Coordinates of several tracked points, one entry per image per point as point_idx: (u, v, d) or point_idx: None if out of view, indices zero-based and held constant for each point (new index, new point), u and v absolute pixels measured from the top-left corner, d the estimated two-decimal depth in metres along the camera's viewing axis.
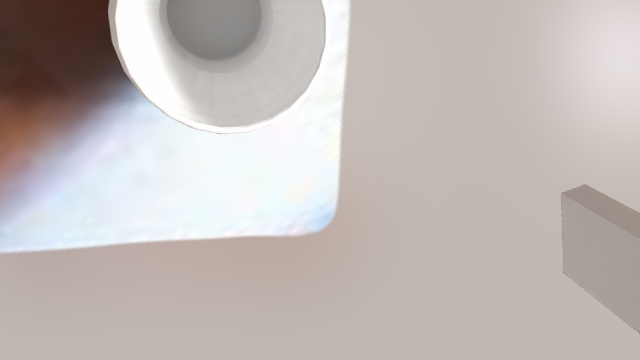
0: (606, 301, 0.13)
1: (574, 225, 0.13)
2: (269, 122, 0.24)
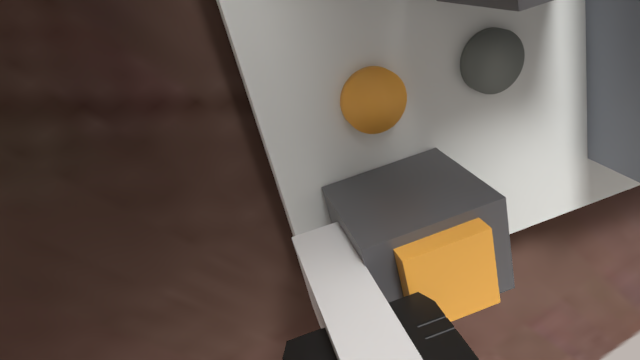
0: None
1: None
2: None
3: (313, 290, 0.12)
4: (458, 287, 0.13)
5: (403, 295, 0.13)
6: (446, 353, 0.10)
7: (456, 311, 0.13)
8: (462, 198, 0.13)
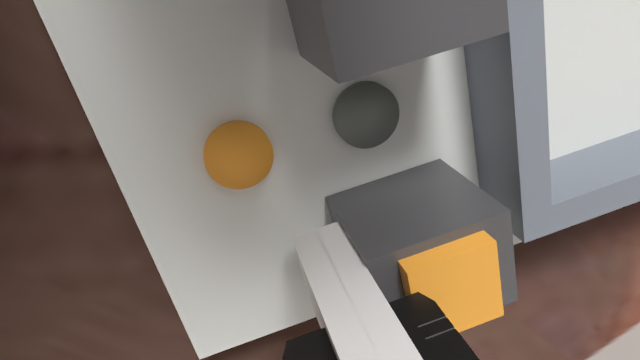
0: None
1: None
2: None
3: (313, 290, 0.12)
4: (462, 300, 0.13)
5: None
6: (447, 353, 0.10)
7: (460, 323, 0.13)
8: (467, 210, 0.13)
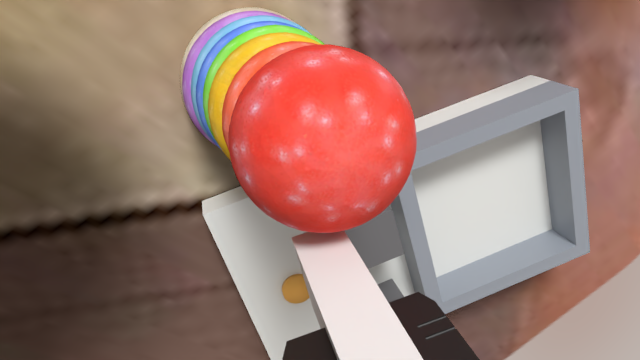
0: None
1: None
2: None
3: (313, 290, 0.12)
4: None
5: None
6: (447, 352, 0.10)
7: None
8: None
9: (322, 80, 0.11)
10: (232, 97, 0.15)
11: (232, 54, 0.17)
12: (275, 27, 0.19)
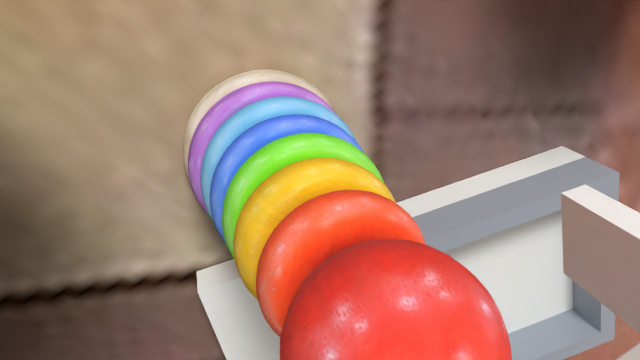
0: (606, 301, 0.13)
1: (574, 225, 0.13)
2: None
3: None
4: None
5: None
6: None
7: None
8: None
9: (422, 334, 0.09)
10: (275, 262, 0.13)
11: (269, 186, 0.15)
12: (315, 140, 0.16)
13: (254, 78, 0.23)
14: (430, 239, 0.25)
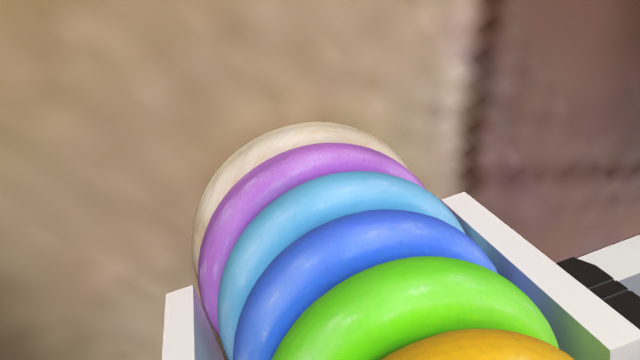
0: None
1: None
2: None
3: None
4: None
5: None
6: (631, 312, 0.10)
7: None
8: None
9: None
10: None
11: None
12: (447, 280, 0.08)
13: (304, 136, 0.15)
14: None
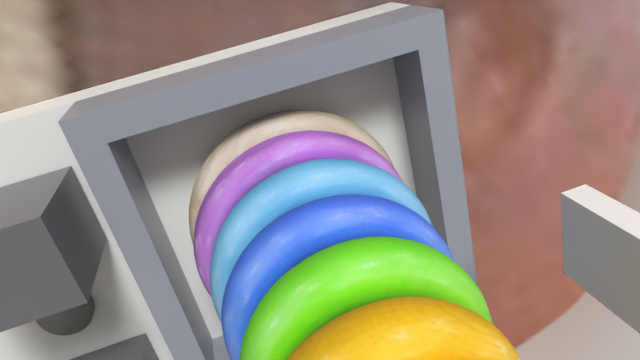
0: (606, 301, 0.13)
1: (574, 225, 0.13)
2: None
3: None
4: None
5: None
6: None
7: None
8: None
9: None
10: None
11: (323, 357, 0.08)
12: (394, 257, 0.10)
13: (290, 123, 0.17)
14: (93, 111, 0.14)
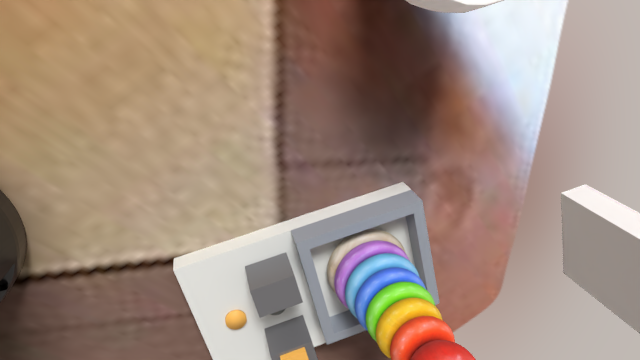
0: (606, 301, 0.13)
1: (574, 225, 0.13)
2: None
3: None
4: None
5: None
6: None
7: None
8: (301, 339, 0.47)
9: None
10: (401, 344, 0.36)
11: (394, 311, 0.38)
12: (408, 287, 0.40)
13: (367, 236, 0.46)
14: (306, 239, 0.44)
